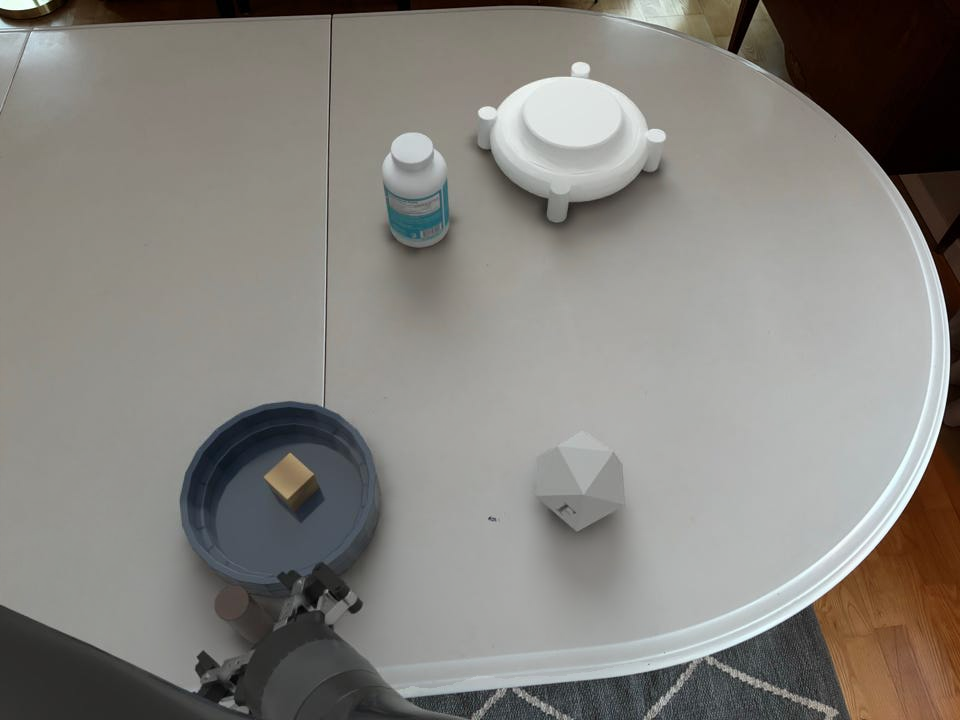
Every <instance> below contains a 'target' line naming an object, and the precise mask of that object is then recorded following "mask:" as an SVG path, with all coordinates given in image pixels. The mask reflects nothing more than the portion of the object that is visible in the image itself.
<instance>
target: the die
mask: <svg viewBox="0 0 960 720" xmlns="http://www.w3.org/2000/svg"><path fill="white" fill-rule="evenodd" d="M534 495H535V496H534V497H536V498H537V499H538V500H539V501H541V502H542V503H543V504H544V505H545V506H547V508H549V510H551V511H552V512H553V513H554V514H556V516H558V517H559V518H560V519H561V520H562V521H563V522H565V523H566V525H568V526H569V527H570V528H571V529H573V530H574V531H575V532H579V531H581V530H583V529H584V528H587V527H588V526H590V525H592V524H594V523H595V522H597V521H599V520H601V519H603V518H604V517H607V516H608V515H610V514H612V513H614V512H615V511H617V510H619V509H621V508H622V507H624V506H626V496H625V479H624V464H623V462H622V461H621V460H620V459H619V457H618V456H617V454H616V452H615V451H613V450H612V449H611V448H610V447H608V446H606V445H605V444H604V443H602V442H601V441H599V440H598V439H596V438H595V437H593V436H592V435H590V434H589V433H588V432H586V431H585V430H581V431H579V432H577V433H576V434H574V435H572V436H571V437H568V438H567V439H565V440H564V441H562V442H560V443H558V444H557V445H555V446H553V447H551V448H549V449H548V450H546V451H544V452H543V453H540V454H539V455H537V458H536V475H535V493H534Z"/></svg>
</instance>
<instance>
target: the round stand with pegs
mask: <svg viewBox="0 0 960 720" xmlns="http://www.w3.org/2000/svg"><path fill="white" fill-rule="evenodd" d="M590 74H591V67H590V65H589V64H588V63H586V62H584V61H577V62H575V63H573V64H572V65H571V69H570V76H554V77H547V78H542V79H539V80H535V81H531V82H530V83H527V84H525V85H523V86H521V87H519V88H518V89H516V90H515V91H514V92H512V93H511V94H510V95H508V96H507V97H506V98H505V99H504V100H503V101H502V102H501V103H500V105H499V106H498V108H497V109H496V108H495V107H493V106H489V105H488V106H483V107H481V108H479V109H478V111H477V146H478V147H480V149H483V150H491V153H492V156H493V159H494V161H495V162H496V164H497V165H498V167H499V169H500V170H501V171H502V172H503V173H504V175H505V176H506V177H507V178H508V179H509V180H510V181H512V182H513V183H514V184H516V185H517V186H518V187H520V188H521V189H523V190H525V191H527V192H528V193H531V194H533V195H535V196H538V197H541V198H544V199H547V208H546V218H547V219H548V221H550V222H551V223H556V224H558V223H562V222H564V221H565V220H566V219H567V216H568V215H567V214H568V208H569V203H582V202H590V201H595V200H599V199H603V198H606V197H608V196H611V195H613V194H615V193H618V192H619V191H621V190H623V189H624V188H625V187H627V186H628V185H629V184H631V183H632V181H634V180H635V179H636V178H637V176H638V175H639V174H640V173H641V171H644V172H647V173H652V172H655V171H656V170H658V168H659V164H660V162H661V158H662V153H663V151H664V147H665V144H666V139H667V134H666V132H664V131H663V130H661V129H660V128H651V129H649V126H648V124H647V121H646V118H645V117H644V115H643V113H642V112H641V110H640V109H639V108H638V106H637V105H636V104H635V103H634V102H633V101H632V100H631V99H630V98H629V97H627V95H625V94H624V93H622V91H619V90H618V89H616V88H614V87H612V86H610V85H608V84H606V83H603V82H600V81H597V80H594V79H591V78H590Z"/></svg>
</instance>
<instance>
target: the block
mask: <svg viewBox="0 0 960 720" xmlns="http://www.w3.org/2000/svg"><path fill="white" fill-rule="evenodd" d="M263 478H264V479H265V481H266V483H267V484H268V486H269V488H270V489H271V491H272V492H273V493H274V494H275V495H276V496H278V497H279V498H280V499H281V500H282V501H283V502H284V503H285V504H286V505H287V506H288V507H289V508H290V509H291V510H292V511H294V512H295V511H296V510H297V509H298V508H299V507H300V506H301V505H302V504H303V503H304V502H305V501H306V500H307V499H308V498H309V497H310V496H311V495H312V494H314V493H315V492H316V491H317V490H318V489H319V488H320V486H319V484H318V482H317V480H316V478H315V475H314V474H313V473H312V472H311V471H310V470H309V469H308V468H307V467H306V466H304V465H303V464H302V463H301V462H300V461H299V460H298V459H297V458H296V457H295V456H293V455H292V454H291V453H289V454H288V455H287V456H286V457H285V458H284V459H283V460H282V461H280V462H279V463H278V464H277V465H276V466H275V467H274V468H273V469H272V470H271V471H270V472H268V473H267V474H266V475H265V476H264V477H263Z"/></svg>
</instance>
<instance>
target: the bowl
mask: <svg viewBox="0 0 960 720" xmlns="http://www.w3.org/2000/svg"><path fill="white" fill-rule="evenodd" d="M289 453H291V454H292V455H293V456H295V457H296V458H297V459H298V460H299V461H300V462H301V463H302V464H303V465H304V466H306V467H307V468H308V469H309V470H310V471H311V472H312V473H313V474H314V475H315V478H316V480H317V482H318V484H319V486H320V488H319V489H318V490H317V491H316V492H315V493H314V494H312V495H311V496H310V497H309V498H308V499H307V500H306V501H305V502H304V503H303V504H302V505H301V506H300V507H299V508H298V509H297V510H296V511H295V512H294V511H292V510H291V509H290V508H289V507H288V506H287V505H286V504H285V503H284V502H283V501H282V500H281V499H280V498H279V497H278V496H276V495H275V494H274V493H273V492H272V491H271V489H270V488H269V486H268V484H267V483H266V481H265V479H264V478H263V477H264V476H265V475H266V474H267V473H268V472H270V471H271V470H272V469H273V468H274V467H275V466H276V465H277V464H278V463H279V462H280V461H282V460H283V459H284V458H285V457H286V456H287V455H288V454H289ZM381 494H382V493H381V486H380V482H379V479H378V473H377V470H376V466H375V462H374V459H373V455H372V452H371V449H370V447H369V446H368V444H367V443H366V441H365V439H364V438H363V436H362V435H361V433H360V431H359V430H358V429H357V428H356V427H354V426H353V425H352V424H351V423H350V422H349V421H348V420H346V419H345V418H344V417H343V416H342V415H341V414H339V413H337V412H335V411H333V410H331V409H329V408H326V407H324V406H322V405H319V404H317V403H310V402H301V401H296V400H287V401H286V400H285V401H277V402H268V403H263V404H260V405H258V406H255V407H252V408H249V409H246V410H244V411H242V412H239V413H238V414H236V415H234V416H233V417H232V418H230V419H228V420H227V421H225V422H224V423H223V424H221V425H219V426H218V427H217V428H215V430H214V431H212V432H211V434H210V435H209V436H208V437H207V438H206V440H204V442H202V444H201V445H200V446H199V447H198V448H197V450H196V451H195V454H194V456H193V457H192V459H191V461H190V463H189V465H188V467H187V468H186V471H185V473H184V477H183V481H182V485H181V490H180V495H179V510H180V519H181V527H182V529H183V532H184V533H185V535H186V538H187V540H188V542H189V544H190V546H191V549H192V550H193V551H194V552H195V553H196V554H197V556H198V557H200V558H201V560H202V561H203V562H205V563H206V565H208V567H209V568H210V569H211V570H212V571H213V572H214V573H215V574H216V575H217V576H218V577H219V578H220V579H221V580H222V581H223V582H225V583H228V584H229V585H230V586H239V587H241V588H243V589H244V590H245V591H246V592H247V593H248V594H250V595H251V594H252V595H258V596H264V597H271V598H279V597H286V596H287V597H288V596H290V594H291V592H290V591H289V590H288V589H287V588H286V587H285V586H284V585H283V584H282V583H281V582H280V581H279V580H278V579H277V576H278V575H279V574H280V573H281V572H282V571H283V572H284V573H285V574H287V573H288V572H289V571H290V570H295V571H296V572H297V573H299V574H300V575H301V576H302V577H305V578H308V577H310V576H311V575H313V574H312V570H313V568H314V567H315V566H316V565H317V564H318V563H320V562H324V563H325V564H326V565H327V566H328V567H329V568H330V569H331V570H332V571H333V572H334V573H335V574H337V575H338V576H339V575H341V574H342V573H343V572H344V571H346V570H347V569H348V568H350V567H351V566H352V565H353V564H354V563H355V561H356V560H357V559H358V558H359V556H360V555H361V553H362V552H363V551H364V549H365V548H366V547H367V545H368V544H369V542H370V540H371V538H372V536H373V533H374V531H375V527H376V525H377V522H378V521H379V520H378V519H379V517H380V506H381V505H380V504H381Z"/></svg>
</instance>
